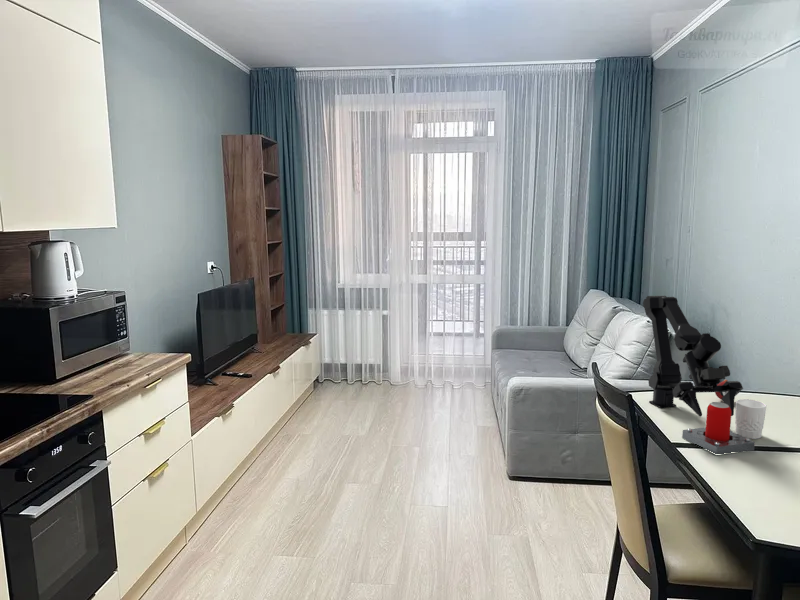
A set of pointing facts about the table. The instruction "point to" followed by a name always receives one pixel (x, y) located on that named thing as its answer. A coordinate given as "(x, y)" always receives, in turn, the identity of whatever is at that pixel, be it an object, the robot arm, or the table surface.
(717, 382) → the robot arm
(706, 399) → the table surface
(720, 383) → the onion
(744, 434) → the white cup
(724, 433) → the beverage can
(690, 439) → the housing
